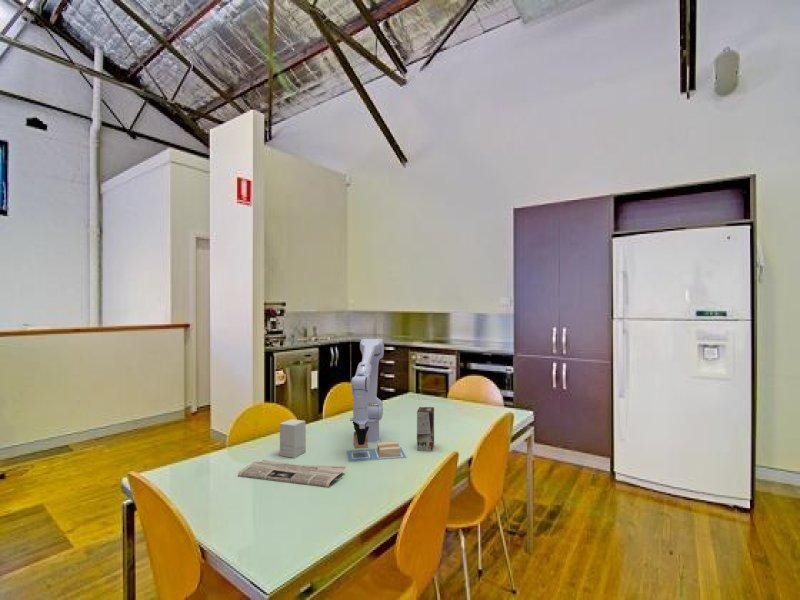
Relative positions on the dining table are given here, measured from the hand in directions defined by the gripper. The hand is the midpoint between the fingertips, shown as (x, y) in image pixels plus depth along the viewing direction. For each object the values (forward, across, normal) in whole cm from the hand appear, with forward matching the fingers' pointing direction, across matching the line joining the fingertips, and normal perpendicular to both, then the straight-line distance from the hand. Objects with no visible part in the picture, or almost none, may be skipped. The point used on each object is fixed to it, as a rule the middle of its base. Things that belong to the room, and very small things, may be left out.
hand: (360, 442), depth 160 cm
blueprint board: (+6, 0, +6) cm, 8 cm away
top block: (+2, 0, 0) cm, 2 cm away
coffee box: (+6, -4, +27) cm, 28 cm away
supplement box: (+6, -8, -26) cm, 28 cm away
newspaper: (+6, +13, -24) cm, 28 cm away
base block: (+5, 0, +11) cm, 12 cm away
